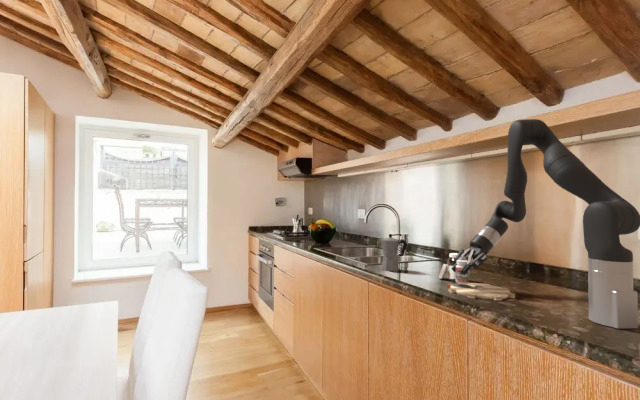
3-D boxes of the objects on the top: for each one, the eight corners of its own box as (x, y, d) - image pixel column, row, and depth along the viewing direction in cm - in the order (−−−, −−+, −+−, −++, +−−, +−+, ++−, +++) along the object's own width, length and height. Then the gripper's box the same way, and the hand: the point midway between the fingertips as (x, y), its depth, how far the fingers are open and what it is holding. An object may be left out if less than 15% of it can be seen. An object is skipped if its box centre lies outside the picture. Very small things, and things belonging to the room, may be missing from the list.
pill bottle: (455, 283, 124) (455, 261, 124) (455, 280, 128) (455, 259, 129) (469, 284, 122) (469, 262, 123) (468, 281, 127) (468, 260, 127)
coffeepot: (374, 269, 165) (374, 233, 166) (382, 266, 173) (383, 232, 173) (402, 273, 156) (402, 235, 156) (410, 270, 163) (410, 234, 164)
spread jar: (472, 284, 135) (472, 255, 135) (444, 283, 135) (444, 255, 136) (460, 278, 147) (460, 252, 147) (435, 277, 147) (435, 251, 148)
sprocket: (530, 300, 111) (530, 294, 111) (466, 300, 109) (466, 294, 109) (489, 284, 134) (489, 280, 134) (436, 285, 132) (436, 280, 132)
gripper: (467, 232, 134) (440, 262, 132) (492, 235, 120) (463, 268, 118) (478, 245, 135) (452, 275, 133) (504, 249, 121) (476, 282, 119)
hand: (457, 271), depth 125 cm, fingers closed on pill bottle, 4 cm apart
